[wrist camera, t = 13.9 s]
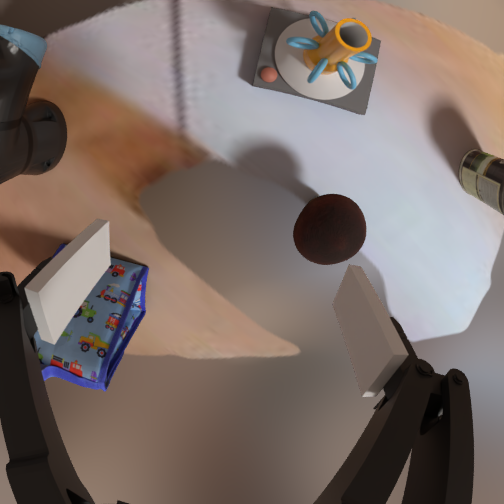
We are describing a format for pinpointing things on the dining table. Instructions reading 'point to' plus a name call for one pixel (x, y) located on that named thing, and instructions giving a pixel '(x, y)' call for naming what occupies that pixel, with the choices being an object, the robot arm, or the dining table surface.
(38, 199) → the dining table surface
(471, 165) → the coffee can
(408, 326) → the dining table surface
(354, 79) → the yellow tube with rings
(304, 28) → the mount slab
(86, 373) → the lunch bag
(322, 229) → the decorative mushroom
